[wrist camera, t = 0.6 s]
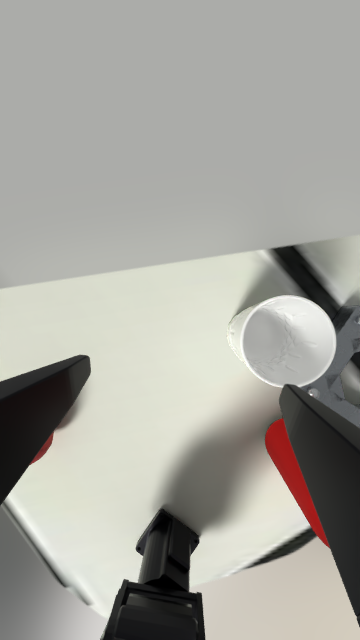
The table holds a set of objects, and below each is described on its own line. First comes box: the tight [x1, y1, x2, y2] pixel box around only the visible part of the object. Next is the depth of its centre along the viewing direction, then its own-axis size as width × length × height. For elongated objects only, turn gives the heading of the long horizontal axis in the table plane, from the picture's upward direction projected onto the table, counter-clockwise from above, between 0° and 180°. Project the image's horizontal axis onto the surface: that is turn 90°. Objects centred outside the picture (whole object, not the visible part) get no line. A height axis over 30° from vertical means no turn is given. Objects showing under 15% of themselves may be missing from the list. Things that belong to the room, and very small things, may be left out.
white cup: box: [227, 295, 336, 388], centre depth 21 cm, size 8×8×10 cm
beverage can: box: [265, 418, 330, 548], centre depth 20 cm, size 6×6×12 cm
